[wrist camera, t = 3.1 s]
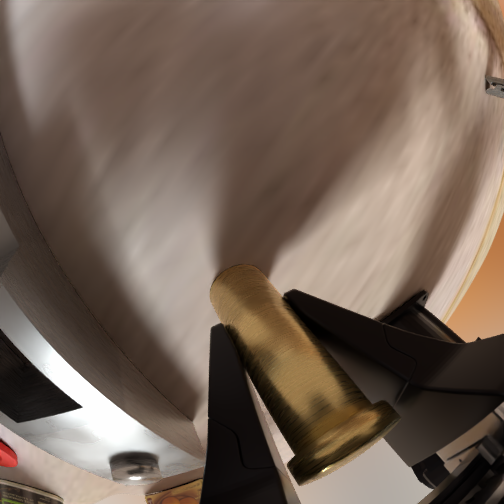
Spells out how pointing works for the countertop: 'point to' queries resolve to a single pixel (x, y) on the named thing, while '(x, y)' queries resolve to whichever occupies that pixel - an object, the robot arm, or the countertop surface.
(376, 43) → the countertop surface
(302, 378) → the pin
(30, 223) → the grey slotted bracket fixture
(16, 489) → the coffee can
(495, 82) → the mechanical component
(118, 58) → the countertop surface
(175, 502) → the candy box
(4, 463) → the tow hook
